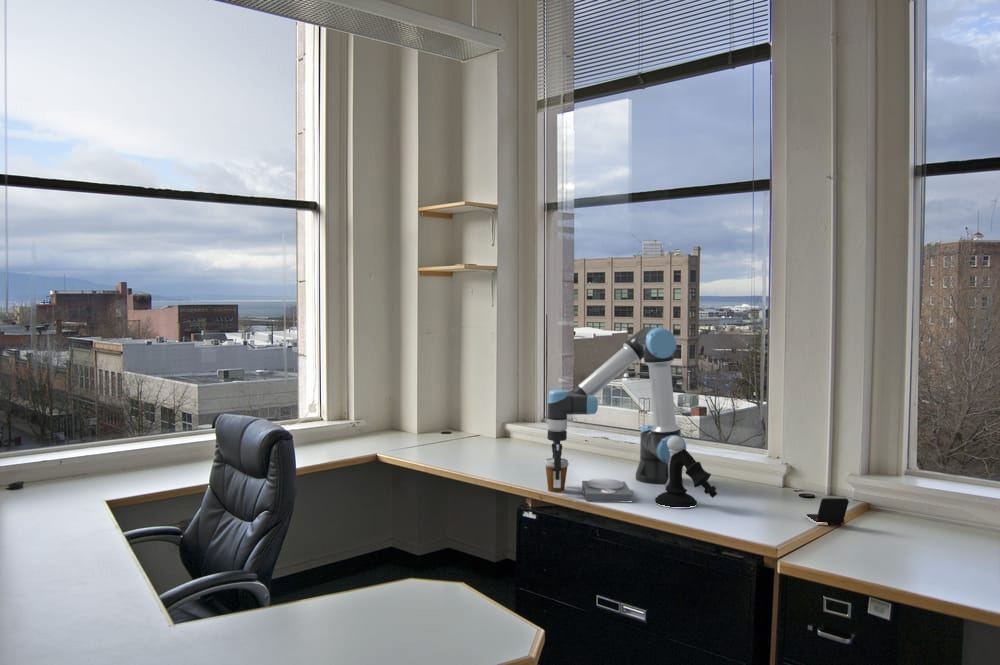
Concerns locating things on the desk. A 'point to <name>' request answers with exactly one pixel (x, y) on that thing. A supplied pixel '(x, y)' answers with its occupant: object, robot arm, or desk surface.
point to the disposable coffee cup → (550, 474)
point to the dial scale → (606, 490)
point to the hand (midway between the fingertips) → (556, 483)
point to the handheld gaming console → (831, 511)
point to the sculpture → (674, 484)
